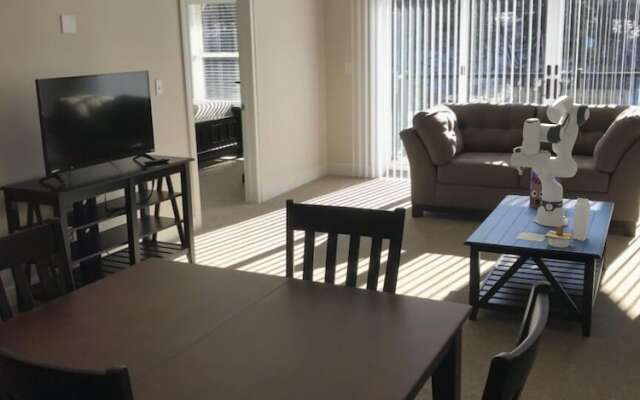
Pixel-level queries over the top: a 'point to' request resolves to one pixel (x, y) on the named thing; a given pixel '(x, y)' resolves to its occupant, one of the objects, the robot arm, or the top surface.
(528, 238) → the mat
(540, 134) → the robot arm
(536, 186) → the cereal box
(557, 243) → the bowl
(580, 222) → the milk
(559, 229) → the lid
